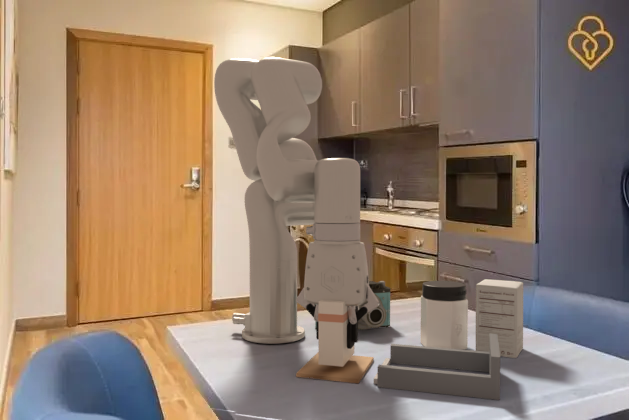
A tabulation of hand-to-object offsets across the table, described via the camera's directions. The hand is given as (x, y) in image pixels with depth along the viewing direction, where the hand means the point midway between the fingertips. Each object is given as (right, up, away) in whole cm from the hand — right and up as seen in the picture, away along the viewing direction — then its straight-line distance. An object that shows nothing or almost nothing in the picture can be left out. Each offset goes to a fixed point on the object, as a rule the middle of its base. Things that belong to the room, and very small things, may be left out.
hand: (337, 344), depth 89 cm
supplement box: (+30, -4, +11) cm, 32 cm away
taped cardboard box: (0, -2, 0) cm, 2 cm away
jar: (+21, -4, +14) cm, 25 cm away
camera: (+5, -4, +25) cm, 26 cm away
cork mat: (0, -4, 0) cm, 4 cm away
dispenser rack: (+15, -4, -4) cm, 16 cm away
